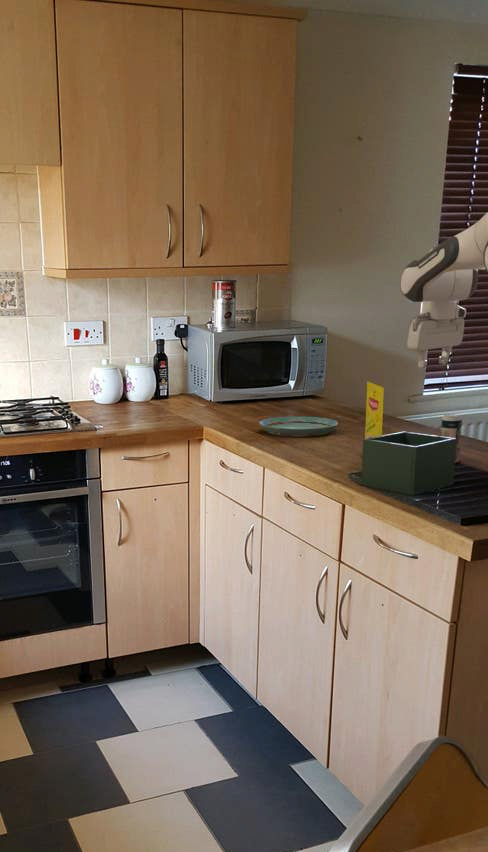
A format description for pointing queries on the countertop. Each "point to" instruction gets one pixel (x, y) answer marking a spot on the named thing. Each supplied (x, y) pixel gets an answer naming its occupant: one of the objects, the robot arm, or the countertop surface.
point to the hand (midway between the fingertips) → (432, 365)
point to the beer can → (452, 430)
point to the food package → (374, 410)
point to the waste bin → (408, 462)
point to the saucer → (298, 426)
